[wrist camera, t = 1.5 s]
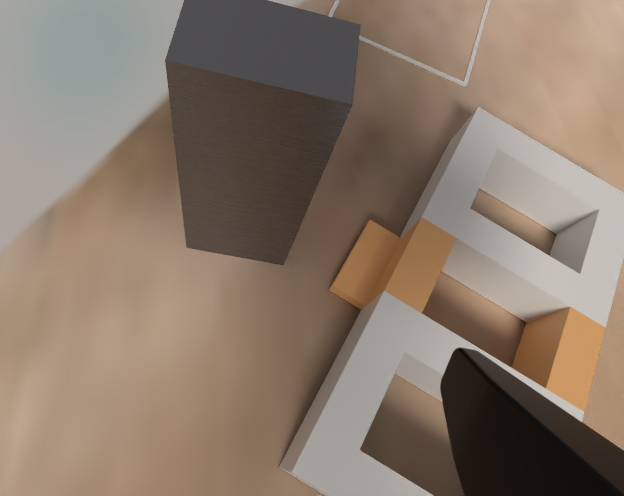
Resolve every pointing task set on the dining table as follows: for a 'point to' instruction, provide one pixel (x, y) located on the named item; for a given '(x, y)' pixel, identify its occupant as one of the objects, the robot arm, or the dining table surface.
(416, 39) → the dining table surface
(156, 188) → the dining table surface
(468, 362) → the robot arm
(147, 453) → the dining table surface
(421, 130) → the dining table surface
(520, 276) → the frame
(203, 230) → the graphite panel
